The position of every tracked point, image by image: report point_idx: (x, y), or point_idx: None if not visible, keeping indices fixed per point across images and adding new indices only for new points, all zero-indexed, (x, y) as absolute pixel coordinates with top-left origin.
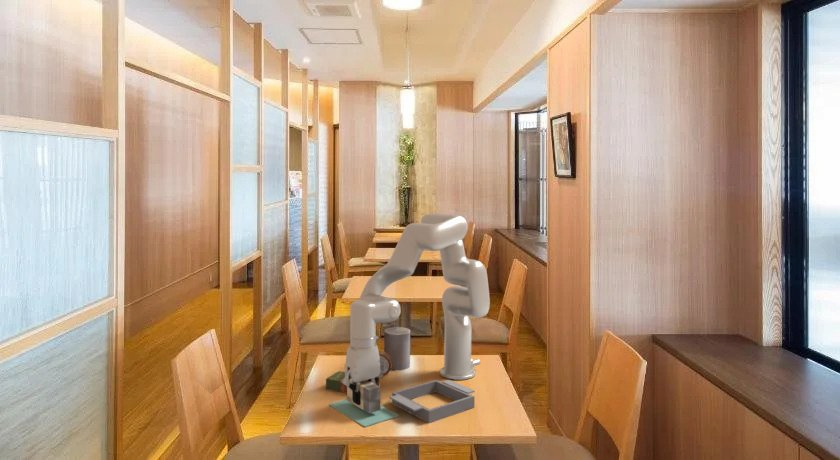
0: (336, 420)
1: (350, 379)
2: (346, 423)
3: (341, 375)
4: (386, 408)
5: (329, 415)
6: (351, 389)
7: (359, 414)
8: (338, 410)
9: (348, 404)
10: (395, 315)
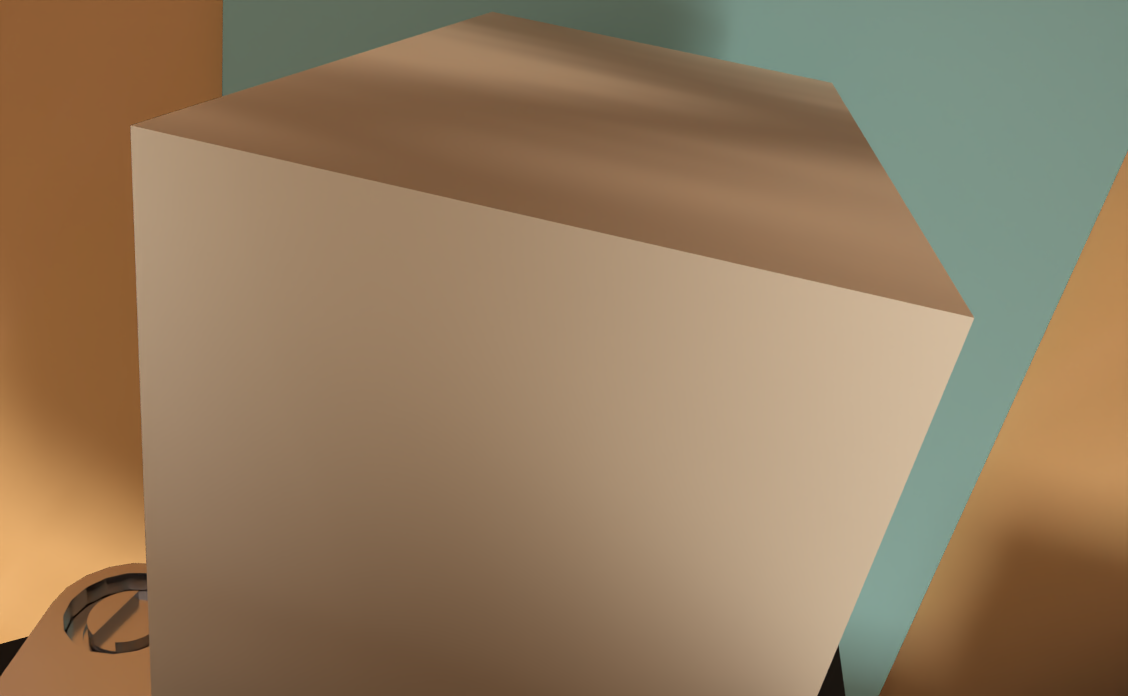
0: (22, 329)
1: (204, 380)
2: (97, 508)
3: None
4: (881, 688)
5: (6, 84)
6: (101, 598)
7: None
8: (228, 62)
9: (550, 5)
10: None
